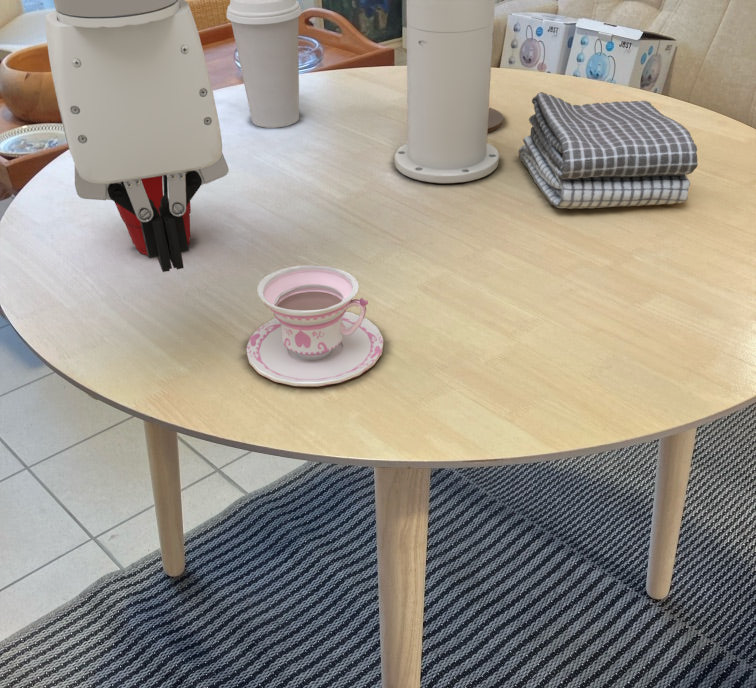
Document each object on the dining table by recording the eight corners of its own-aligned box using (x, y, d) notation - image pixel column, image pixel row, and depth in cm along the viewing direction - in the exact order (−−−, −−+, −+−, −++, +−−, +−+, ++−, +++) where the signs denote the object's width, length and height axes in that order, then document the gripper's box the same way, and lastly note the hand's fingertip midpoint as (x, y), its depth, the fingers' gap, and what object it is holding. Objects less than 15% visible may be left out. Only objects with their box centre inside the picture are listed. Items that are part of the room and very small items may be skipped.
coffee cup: (307, 131, 114) (297, 3, 103) (236, 133, 114) (218, 6, 104) (312, 106, 121) (303, -16, 110) (245, 108, 121) (229, -13, 111)
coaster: (416, 115, 117) (416, 111, 116) (483, 104, 119) (483, 100, 119) (445, 140, 110) (446, 135, 109) (516, 128, 112) (516, 123, 112)
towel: (556, 220, 92) (564, 146, 87) (516, 155, 105) (521, 88, 100) (692, 209, 93) (709, 135, 88) (636, 146, 106) (647, 79, 101)
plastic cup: (175, 212, 96) (152, 100, 88) (233, 241, 91) (215, 124, 82) (90, 245, 91) (58, 129, 83) (147, 278, 85) (118, 157, 77)
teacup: (227, 381, 72) (215, 316, 68) (271, 308, 80) (263, 247, 76) (365, 396, 70) (362, 331, 65) (396, 320, 78) (395, 257, 74)
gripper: (220, -37, 57) (253, 226, 69) (-15, -14, 53) (65, 259, 66) (247, -14, 52) (278, 266, 64) (-11, 14, 48) (74, 304, 61)
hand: (170, 262), depth 65 cm, fingers closed
